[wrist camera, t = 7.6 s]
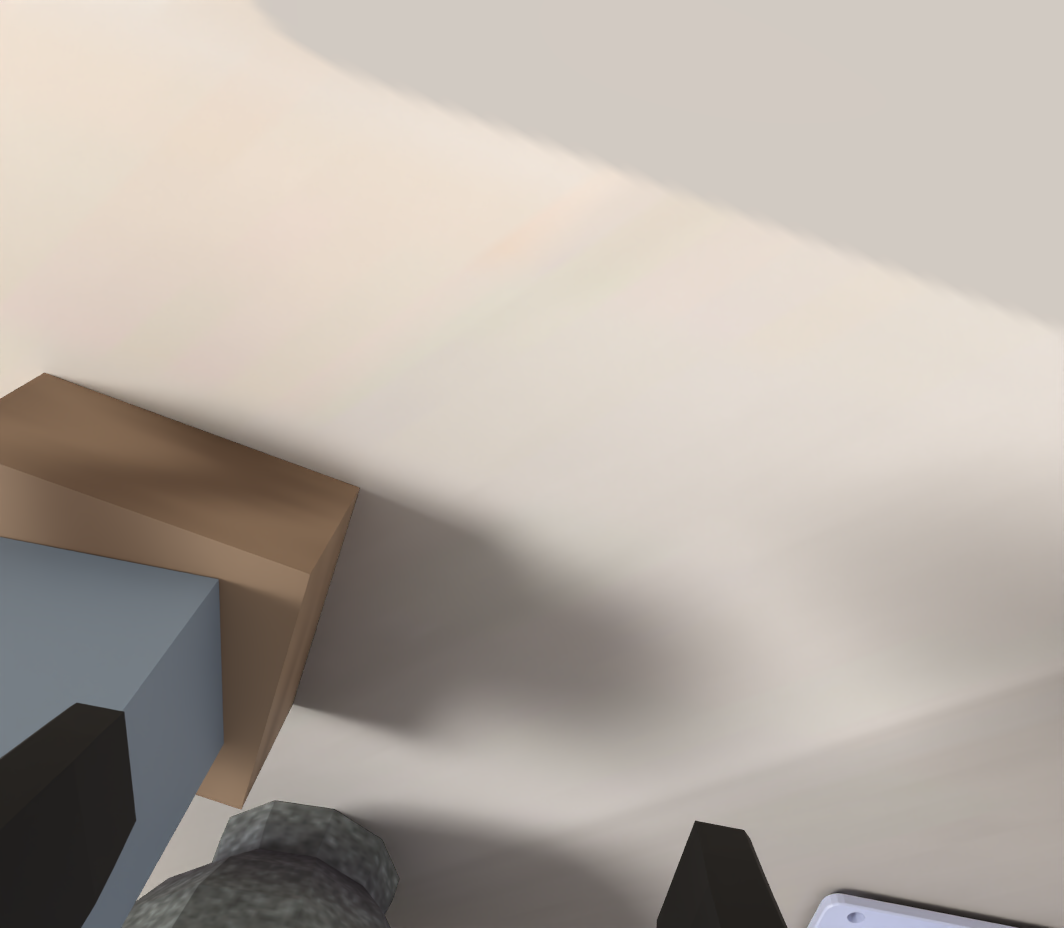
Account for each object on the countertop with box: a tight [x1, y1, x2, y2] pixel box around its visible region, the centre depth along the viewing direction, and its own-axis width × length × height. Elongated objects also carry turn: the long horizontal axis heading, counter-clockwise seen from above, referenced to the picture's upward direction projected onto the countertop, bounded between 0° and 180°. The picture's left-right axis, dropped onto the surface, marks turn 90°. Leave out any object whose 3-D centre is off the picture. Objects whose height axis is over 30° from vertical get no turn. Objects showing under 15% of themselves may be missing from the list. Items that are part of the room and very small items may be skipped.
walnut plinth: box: [0, 373, 360, 809], centre depth 21 cm, size 8×8×4 cm
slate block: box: [0, 537, 224, 928], centre depth 16 cm, size 5×5×6 cm
